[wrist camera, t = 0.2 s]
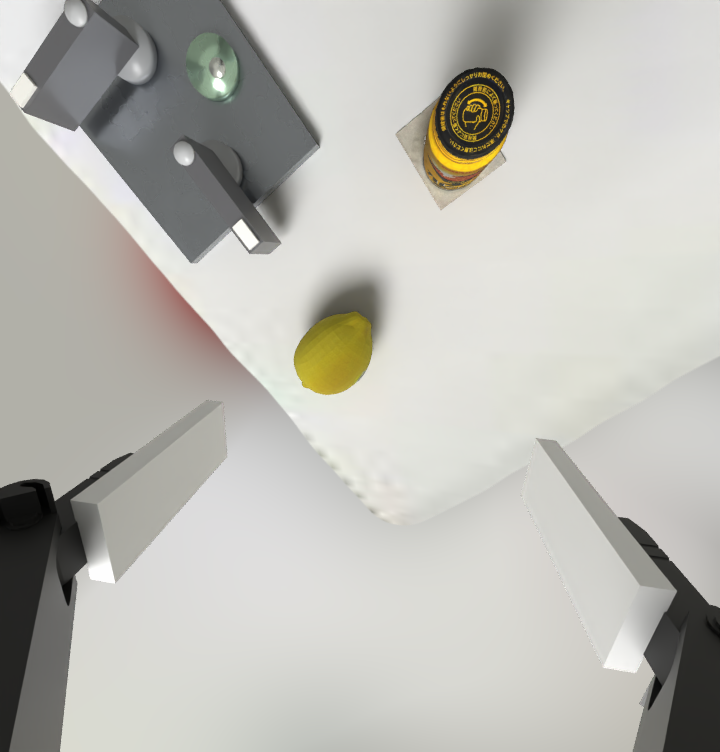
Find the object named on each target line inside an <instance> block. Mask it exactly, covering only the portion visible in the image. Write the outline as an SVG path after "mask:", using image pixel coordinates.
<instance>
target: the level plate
mask: <svg viewBox="0 0 720 752" xmlns="http://www.w3.org/2000/svg"><path fill="white" fill-rule="evenodd" d="M98 6H99V7H100V8H101V9H103V10H104V11H105V12H106V13H107V14H109V15H110V16H111V17H114V16H117V15H124V16H127V17H130V18H131V19H133V20H134V21H136V22H137V23H138V24H139V25H140V26H141V27H142V28H144V29H145V30H146V31H147V32H148V34H149V35H150V36H151V38H152V40H153V42H154V44H155V47H156V51H157V67H156V71H155V73H154V75H153V77H152V78H151V79H150V80H149V81H148V82H146V83H144V84H141V85H135V84H132V83H129V82H127V81H126V80H124V79H123V78H121V77H119V76H118V75H117V77H116V78H115V79H114V81H113V82H112V83H111V85H110V86H109V87H108V88H107V90H106V91H105V92H104V94H103V95H102V96H101V98H100V99H99V100H98V102H97V103H96V104H95V105H94V107H93V108H92V109H91V111H90V112H89V113H88V115H87V116H86V117H85V118H84V120H83V121H82V122H81V124H80V125H79V126H80V127H81V128H82V129H83V131H84V132H85V133H86V134H87V136H88V137H89V138H90V139H91V140H92V142H93V143H94V144H95V145H96V147H97V148H98V149H99V150H100V152H101V153H102V154H103V155H104V156H105V158H106V159H107V160H108V161H109V163H110V164H111V165H112V166H113V168H114V169H115V170H116V171H117V173H118V174H119V175H120V176H121V177H122V179H123V180H124V181H125V182H126V184H127V185H128V186H129V187H130V189H131V190H132V191H133V192H134V194H135V195H136V196H137V197H138V198H139V200H140V201H141V202H142V203H143V205H144V206H145V207H146V208H147V210H148V211H149V212H150V213H151V214H152V216H153V217H154V218H155V219H156V221H157V222H158V223H159V224H160V226H161V227H162V228H163V229H164V231H165V232H166V233H167V234H168V235H169V237H170V238H171V239H172V240H173V242H174V243H175V244H176V245H177V247H178V248H179V249H180V250H181V252H182V253H183V254H184V255H185V256H186V258H187V259H188V260H189V261H190V263H198V262H199V261H200V260H201V259H202V258H203V257H204V256H205V255H206V254H207V253H208V252H209V251H210V250H211V249H212V248H214V247H215V246H216V245H217V244H218V243H219V242H220V241H221V240H222V239H223V238H224V237H225V236H226V235H227V234H228V233H229V232H231V231H232V230H231V229H230V228H229V226H228V225H227V224H226V222H225V221H224V220H223V218H222V217H221V216H220V215H219V213H218V212H217V211H216V209H215V208H214V207H213V205H212V204H211V203H210V202H209V200H208V199H207V198H206V196H205V195H204V194H203V192H202V191H201V190H200V188H199V187H198V186H197V185H196V183H195V182H194V181H193V179H192V178H191V177H190V175H189V174H188V173H187V172H186V170H185V169H184V168H183V166H182V165H181V164H180V163H178V162H177V160H176V159H175V157H174V155H173V153H172V152H171V151H170V148H171V147H172V146H173V144H174V143H175V142H176V141H177V140H178V139H179V138H180V137H181V135H182V134H183V135H185V136H187V137H189V138H191V139H193V140H194V141H196V142H198V143H200V144H201V143H203V142H205V141H208V140H217V141H220V142H222V143H224V144H225V145H227V146H229V147H230V148H232V149H233V150H234V151H235V152H236V154H237V155H238V157H239V159H240V161H241V164H242V169H243V176H242V181H241V184H240V186H239V187H240V188H241V189H242V191H243V192H244V193H245V195H246V196H247V197H248V199H249V200H250V201H251V203H252V204H253V205H254V207H255V208H256V207H257V206H258V205H259V204H260V203H261V202H262V201H263V200H265V199H266V198H267V197H268V196H269V195H270V194H271V193H272V192H273V191H274V190H275V189H276V188H277V187H278V186H279V185H280V184H282V183H283V182H284V181H285V180H286V179H287V178H288V177H289V176H290V175H291V174H292V173H293V172H294V171H295V170H296V169H297V168H298V167H300V166H301V165H302V164H303V163H304V162H305V161H306V160H307V159H308V158H309V157H310V156H311V155H312V154H313V153H314V152H315V151H317V150H318V149H319V148H320V147H319V146H318V144H317V143H316V142H315V140H314V139H313V137H312V136H311V134H310V133H309V131H308V130H307V128H306V127H305V125H304V124H303V122H302V121H301V119H300V118H299V116H298V115H297V113H296V112H295V110H294V109H293V107H292V106H291V104H290V103H289V102H288V100H287V99H286V97H285V96H284V94H283V93H282V91H281V90H280V88H279V87H278V85H277V84H276V82H275V81H274V79H273V78H272V76H271V75H270V73H269V72H268V70H267V69H266V67H265V66H264V64H263V63H262V62H261V60H260V59H259V57H258V56H257V54H256V53H255V51H254V50H253V48H252V47H251V45H250V44H249V42H248V41H247V39H246V38H245V36H244V35H243V33H242V32H241V30H240V29H239V27H238V26H237V24H236V23H235V22H234V20H233V19H232V17H231V16H230V14H229V13H228V11H227V10H226V8H225V7H224V5H223V4H222V2H221V1H220V0H102V1H101V2H100V4H99V5H98Z"/></svg>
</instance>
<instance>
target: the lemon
mask: <svg viewBox="0 0 720 752" xmlns="http://www.w3.org/2000/svg"><path fill="white" fill-rule="evenodd" d="M371 355H372V337H371V323H370V322H369V321H368V320H367V318H365V317H363V316H362V315H360V314H359V313H358V312H356V311H354V312H350V313H347V314H336V315H332V316H329V317H327V318H325V319H323V320H321V321H319V322H318V323H316V324H315V325H314V326H313V327H312V328H311V329H310V330H309V331H308V332H307V333H306V334H305V336H304V337H303V338H302V339H301V341H300V343H299V345H298V346H297V349H296V351H295V355H294V366H295V369H296V372H297V375H298V376H299V378H300V380H301V381H302V385H303V387H305V388H309V389H311V390H312V391H314V392H316V393H320V394H324V395H330V394H337V393H340V392H343V391H345V390H347V389H348V388H350V387H351V386H352V385H354V384H355V383H356V382H357V381H359V380H360V378H361V377H362V376H363V375H364V373H365V371H366V370H367V367H368V365H369V363H370V360H371Z"/></svg>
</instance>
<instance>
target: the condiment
mask: <svg viewBox="0 0 720 752" xmlns="http://www.w3.org/2000/svg"><path fill="white" fill-rule="evenodd" d="M513 116H514V98H513V91H512V89H511V87H510V85H509V84H508V82H507V80H506V79H505V78H504V76H503V75H501V74H500V73H499V72H498V71H496V70H494V69H490V68H478V67H477V68H474V69H468V70H466V71H464V72H462V73H461V74H459V75H458V76H456V77H455V78H454V79H453V80H452V81H451V82H450V83H449V84H448V85H447V86H446V88H445V90H444V91H443V92H442V94H441V96H440V97H439V98H438V99H437V100H436V101H434V102H433V103H432V104H431V105H430V106H428V107H427V108H426V109H425V110H424V111H423V112H422V113H420V114H419V115H418V116H417V117H416V118H414V119H413V120H412V121H411V122H410V123H409V124H407V125H406V126H405V127H404V128H403V129H401V130H400V131H399V132H398V133H397V134H396V136H397V138H398V140H399V141H400V143H401V145H402V146H403V148H404V150H405V151H406V153H407V155H408V156H409V158H410V160H411V161H412V163H413V165H414V166H415V168H416V170H417V171H418V173H419V175H420V177H421V178H422V180H423V182H424V183H425V185H426V187H427V188H428V190H429V192H430V193H431V195H432V197H433V198H434V200H435V202H436V203H437V205H438V207H439V208H440V210H442V209H443V208H444V207H446V206H447V205H448V204H450V203H451V202H453V201H454V200H455V199H457V198H458V197H459V196H461V195H462V194H463V193H465V192H466V191H467V190H469V189H470V188H471V187H473V186H474V185H475V184H477V183H478V182H479V181H481V180H482V179H483V178H485V177H486V176H487V175H489V174H490V173H491V172H493V171H494V170H495V169H497V168H498V167H499V166H501V165H502V164H503V163H505V162H506V161H505V159H504V157H503V155H502V154H501V152H500V150H501V148H502V147H503V144H504V142H505V140H506V137H507V134H508V130H509V129H510V127H511V124H512V121H513ZM425 136H426V140H424V137H425ZM424 142H425V145H424Z"/></svg>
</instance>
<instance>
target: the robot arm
mask: <svg viewBox="0 0 720 752" xmlns="http://www.w3.org/2000/svg"><path fill="white" fill-rule="evenodd" d="M226 447H227V446H226V433H225V418H224V404H223V402H217V401H209V400H206V401H205V402H204V403H202V404H201V405H200V406H198V407H197V408H195V409H194V410H193V411H191V412H190V413H189V414H187V415H186V416H184V417H183V418H182V419H180V420H179V421H178V422H176V423H175V424H174V425H172V426H171V427H170V428H168V429H167V430H165V431H164V432H163V433H161V434H160V435H159V436H157V437H156V438H154V439H153V440H152V441H150V442H149V443H148V444H146V445H145V446H144V447H142V448H141V449H139V450H138V451H137V452H135V453H129V454H126V455H124V456H122V457H119V458H117V459H115V460H113V461H112V462H110V463H109V464H107V465H106V466H104V467H103V468H102V469H101V470H100V471H97V472H96V473H95V474H93V475H92V476H90V478H89V479H86V480H85V481H83V482H82V483H80V484H79V485H77V486H76V487H75V488H73V489H72V490H71V491H69V492H68V493H66V494H65V495H63V496H62V497H60V498H59V499H58V500H56V501H54V498H53V494H52V490H51V486H50V483H49V482H47V481H45V480H39V479H32V480H24V481H19V482H16V483H13V484H9V485H7V486H4V487H2V488H0V752H60V744H61V735H62V725H63V724H62V723H63V715H64V705H65V697H66V686H67V677H68V668H69V658H70V648H71V639H72V630H73V620H74V610H75V600H76V591H77V581H76V577H75V574H76V573H77V572H78V571H79V570H80V569H81V568H82V567H83V566H84V565H85V564H86V563H87V567H88V571H89V575H90V578H91V579H92V580H98V581H104V582H110V583H116V582H117V581H118V580H119V579H120V577H121V576H122V575H123V574H124V573H125V572H126V571H127V570H128V569H129V567H130V566H131V565H132V564H133V563H134V562H135V561H136V559H137V558H138V557H139V556H140V555H141V554H142V553H143V551H144V550H145V549H146V548H147V547H148V546H149V545H150V544H151V542H152V541H153V540H154V539H155V538H156V537H157V536H158V535H159V533H160V532H161V531H162V530H163V529H164V528H165V527H166V525H167V524H168V523H169V522H170V521H171V520H172V519H173V518H174V516H175V515H176V514H177V513H178V512H179V511H180V510H181V508H182V507H183V506H184V505H185V504H186V503H187V502H188V500H189V499H190V498H191V497H192V496H193V495H194V494H195V493H196V491H197V490H198V489H199V488H200V487H201V486H202V485H203V484H204V482H205V481H206V480H207V479H208V478H209V476H210V475H212V473H213V472H214V471H215V470H216V469H217V468H218V467H219V465H220V464H221V463H222V462H223V461H224V460H225V459H226V457H227V448H226ZM521 497H522V499H523V501H524V503H525V505H526V507H527V509H528V511H529V513H530V516H531V518H532V520H533V522H534V524H535V526H536V528H537V530H538V532H539V534H540V536H541V538H542V541H543V543H544V545H545V547H546V549H547V551H548V553H549V555H550V557H551V560H552V561H553V564H554V566H555V568H556V570H557V572H558V574H559V576H560V578H561V580H562V583H563V585H564V587H565V589H566V591H567V593H568V595H569V597H570V599H571V602H572V604H573V606H574V608H575V610H576V612H577V614H578V616H579V618H580V620H581V622H582V625H583V627H584V629H585V631H586V633H587V635H588V637H589V639H590V641H591V643H592V646H593V647H594V650H595V652H596V654H597V656H598V658H599V660H600V662H601V664H602V666H603V667H604V668H609V669H615V670H621V671H627V672H633V673H636V671H637V669H638V667H639V666H640V664H641V661H642V660H643V658H644V656H645V658H646V660H647V661H648V663H649V665H650V666H651V668H652V670H653V672H654V673H655V675H654V677H653V679H652V681H651V683H650V684H649V686H648V688H647V690H646V692H645V694H644V696H643V697H642V699H641V701H640V703H639V704H641V705H642V706H643V707H644V709H643V713H642V717H641V721H640V725H639V729H638V733H637V737H636V741H635V746H634V749H633V752H720V608H718V607H716V606H713V605H709V604H708V603H707V601H706V600H705V599H704V598H703V597H702V596H701V595H700V593H699V592H698V591H697V590H696V589H695V588H694V586H693V585H692V584H691V583H690V582H689V581H688V579H687V578H686V577H685V576H684V575H683V574H682V573H681V571H680V570H679V569H678V568H677V567H676V566H675V564H674V563H673V562H672V561H669V558H668V556H667V555H666V554H665V553H664V552H663V551H662V550H661V549H659V548H658V545H657V544H656V543H655V541H654V540H653V539H652V538H651V537H650V536H649V535H648V533H647V532H646V531H645V530H643V529H642V528H641V527H639V526H638V525H637V524H635V523H634V522H633V521H631V520H630V519H628V518H622V517H617V516H616V515H615V513H614V512H613V511H612V510H611V508H610V507H609V506H608V505H607V503H606V502H605V501H604V500H603V499H602V497H601V496H600V495H599V494H598V492H597V491H596V490H595V489H594V487H593V486H592V485H591V484H590V482H589V481H588V480H587V479H586V477H585V476H584V475H583V474H582V473H581V471H580V470H579V469H578V467H577V466H576V465H575V464H574V463H573V461H572V460H571V459H570V458H569V456H568V455H567V454H566V453H565V451H564V450H563V449H562V448H561V446H560V445H559V444H558V443H557V441H554V440H546V439H537V438H536V440H535V444H534V448H533V451H532V455H531V459H530V463H529V467H528V470H527V474H526V478H525V481H524V485H523V489H522V493H521Z"/></svg>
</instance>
